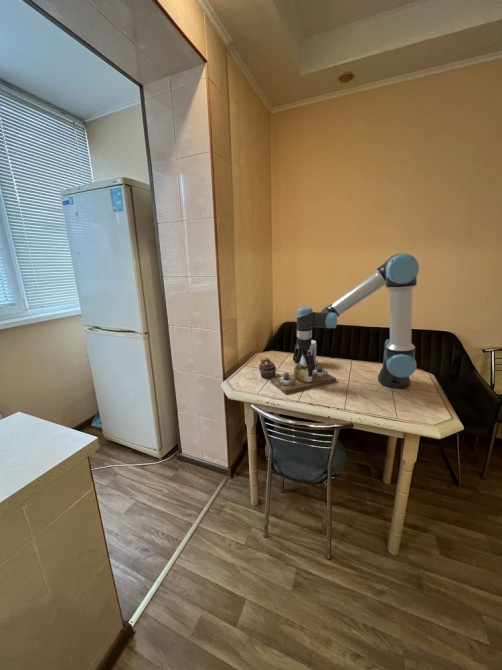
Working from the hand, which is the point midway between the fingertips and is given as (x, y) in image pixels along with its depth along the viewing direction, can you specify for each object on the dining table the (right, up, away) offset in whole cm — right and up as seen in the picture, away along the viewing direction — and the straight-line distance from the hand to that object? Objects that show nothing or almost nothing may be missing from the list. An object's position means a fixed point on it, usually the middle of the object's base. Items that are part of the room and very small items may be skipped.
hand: (303, 377), depth 149 cm
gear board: (0, -2, +1) cm, 2 cm away
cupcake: (-18, -1, +10) cm, 21 cm away
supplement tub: (+8, +4, +25) cm, 26 cm away
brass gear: (0, 0, 0) cm, 0 cm away
